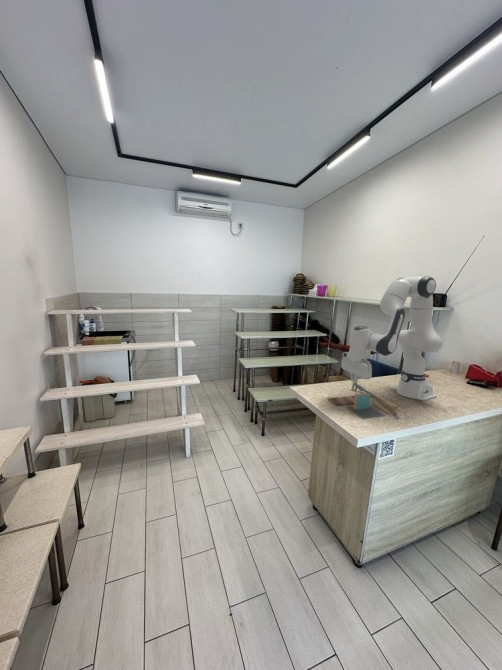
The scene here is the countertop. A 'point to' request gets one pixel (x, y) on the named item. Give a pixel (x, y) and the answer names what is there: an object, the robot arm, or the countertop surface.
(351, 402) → the board
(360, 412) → the mat
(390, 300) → the robot arm
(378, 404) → the scraper
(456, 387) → the countertop surface
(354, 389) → the caliper
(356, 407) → the tile
